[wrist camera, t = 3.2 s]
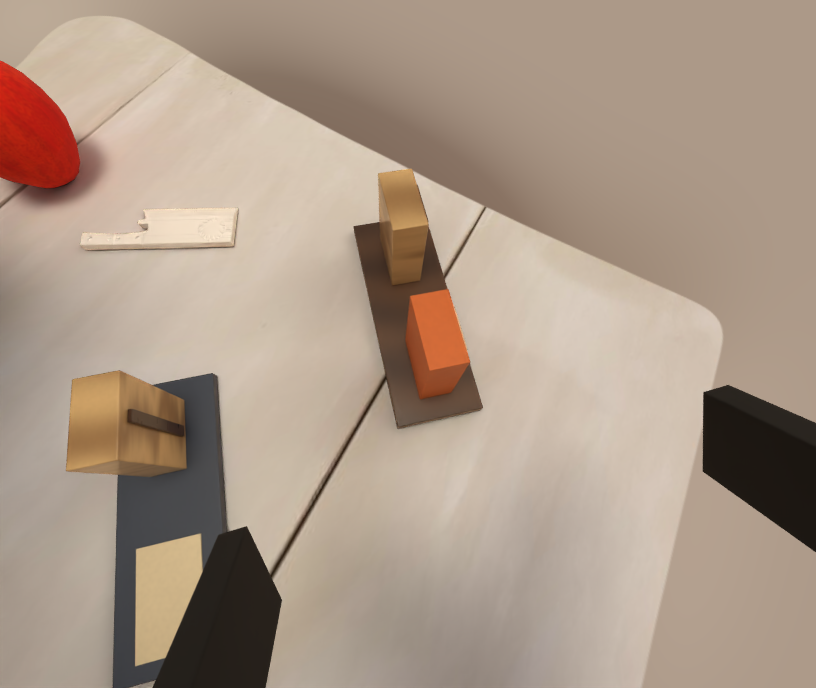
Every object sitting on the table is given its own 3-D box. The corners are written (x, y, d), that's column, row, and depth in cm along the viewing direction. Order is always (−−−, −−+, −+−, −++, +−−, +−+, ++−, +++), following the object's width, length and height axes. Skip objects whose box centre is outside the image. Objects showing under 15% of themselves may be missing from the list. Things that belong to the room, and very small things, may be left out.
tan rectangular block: (379, 237, 42) (377, 172, 33) (410, 232, 42) (415, 167, 34) (391, 286, 40) (392, 230, 31) (423, 280, 40) (432, 223, 32)
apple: (-12, 194, 42) (-158, 85, 31) (48, 132, 46) (-64, 13, 35) (67, 222, 42) (-53, 121, 30) (123, 157, 45) (33, 44, 34)
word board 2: (354, 231, 43) (353, 225, 42) (424, 220, 44) (425, 214, 43) (397, 429, 36) (397, 427, 35) (480, 410, 37) (483, 407, 36)
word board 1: (126, 393, 36) (118, 390, 34) (217, 375, 37) (212, 372, 35) (121, 686, 28) (110, 693, 27) (235, 653, 29) (229, 659, 28)
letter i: (149, 406, 34) (71, 378, 26) (188, 398, 35) (124, 368, 26) (149, 477, 32) (64, 471, 24) (191, 467, 33) (122, 459, 24)
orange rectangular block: (405, 339, 38) (409, 295, 29) (438, 333, 38) (452, 287, 30) (419, 399, 36) (429, 370, 27) (454, 392, 36) (474, 361, 28)
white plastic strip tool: (96, 210, 42) (89, 203, 41) (238, 209, 43) (235, 202, 42) (84, 250, 40) (76, 243, 39) (233, 248, 41) (229, 241, 40)
